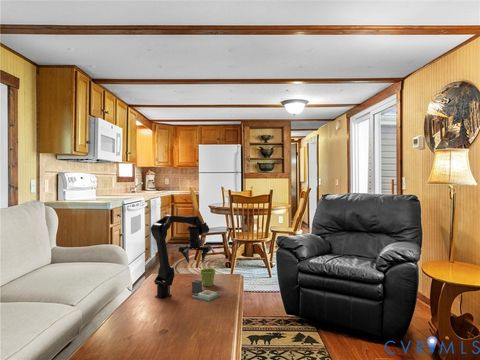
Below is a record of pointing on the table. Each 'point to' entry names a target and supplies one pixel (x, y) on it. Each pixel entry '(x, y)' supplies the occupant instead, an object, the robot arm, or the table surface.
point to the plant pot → (207, 276)
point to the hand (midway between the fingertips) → (195, 262)
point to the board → (206, 295)
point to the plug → (196, 286)
